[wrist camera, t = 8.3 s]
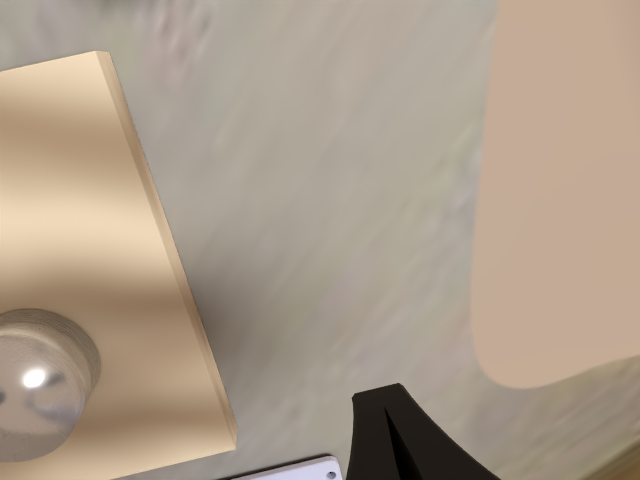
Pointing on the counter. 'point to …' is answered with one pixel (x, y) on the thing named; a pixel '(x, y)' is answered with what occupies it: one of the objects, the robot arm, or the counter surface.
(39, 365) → the grey bar with knob
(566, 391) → the counter surface
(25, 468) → the cutting board
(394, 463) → the robot arm
